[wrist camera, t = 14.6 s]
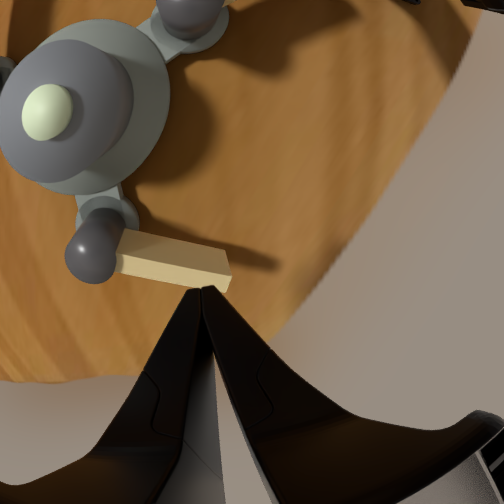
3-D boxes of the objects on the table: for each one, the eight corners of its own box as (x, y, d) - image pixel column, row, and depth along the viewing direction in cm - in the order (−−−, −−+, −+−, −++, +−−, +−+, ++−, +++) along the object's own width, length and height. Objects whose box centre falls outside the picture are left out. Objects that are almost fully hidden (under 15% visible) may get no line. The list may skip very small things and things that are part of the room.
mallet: (82, 244, 17) (64, 277, 13) (86, 203, 15) (65, 230, 12) (215, 272, 20) (222, 308, 17) (228, 235, 19) (238, 267, 16)
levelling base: (224, -10, 11) (241, -48, 7) (243, 227, 20) (263, 273, 15) (-25, 73, 9) (-73, 78, 4) (23, 268, 17) (-6, 314, 13)
